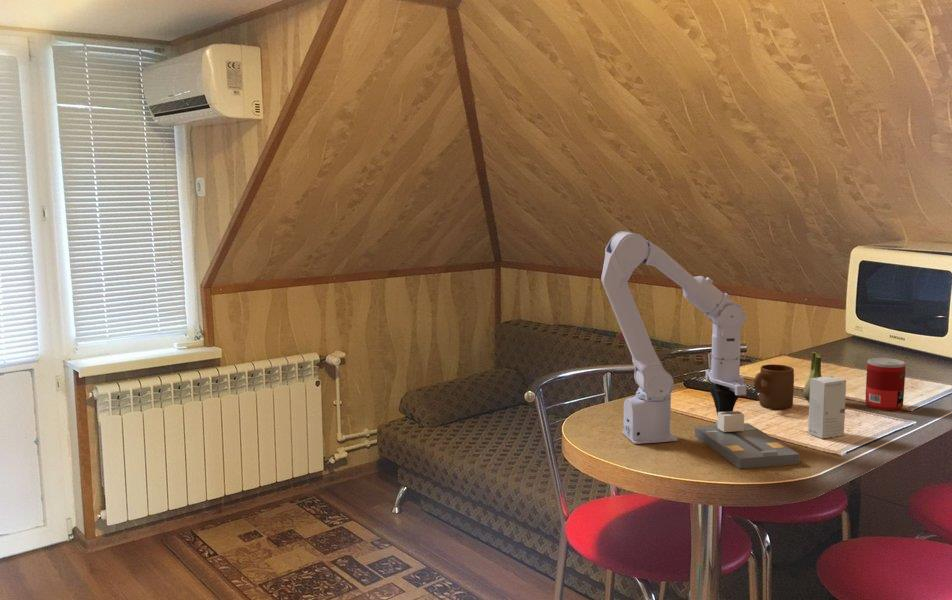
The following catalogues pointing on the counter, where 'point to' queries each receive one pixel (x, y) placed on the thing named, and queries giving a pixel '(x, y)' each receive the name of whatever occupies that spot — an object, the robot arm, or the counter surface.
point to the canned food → (885, 384)
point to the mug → (775, 386)
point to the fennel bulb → (813, 373)
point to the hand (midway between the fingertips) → (724, 419)
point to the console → (747, 447)
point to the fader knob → (730, 421)
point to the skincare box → (827, 406)
